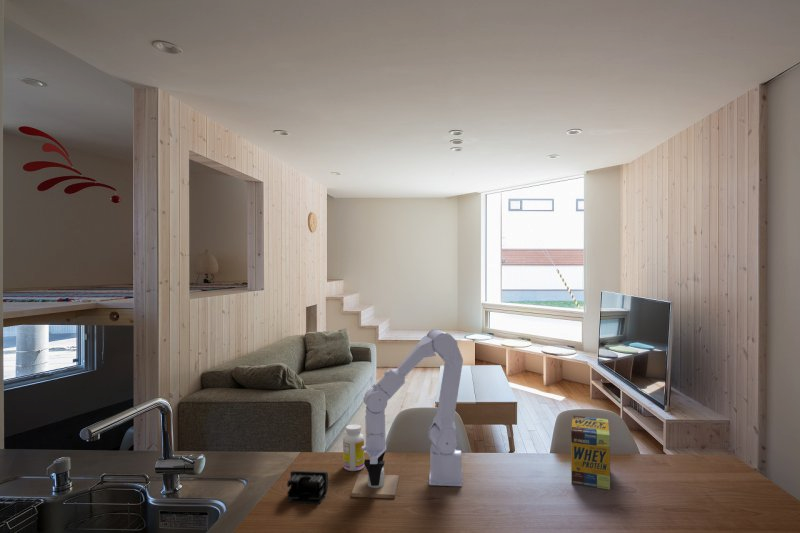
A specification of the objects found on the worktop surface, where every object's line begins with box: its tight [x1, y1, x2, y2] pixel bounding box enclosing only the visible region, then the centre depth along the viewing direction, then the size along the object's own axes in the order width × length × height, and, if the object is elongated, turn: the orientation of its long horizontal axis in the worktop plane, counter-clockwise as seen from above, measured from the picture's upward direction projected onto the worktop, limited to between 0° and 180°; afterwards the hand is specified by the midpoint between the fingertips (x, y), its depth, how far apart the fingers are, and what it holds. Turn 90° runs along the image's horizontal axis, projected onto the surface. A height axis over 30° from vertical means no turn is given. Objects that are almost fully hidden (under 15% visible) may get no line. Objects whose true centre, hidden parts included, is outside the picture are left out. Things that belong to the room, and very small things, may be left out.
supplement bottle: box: [342, 423, 366, 472], centre depth 150 cm, size 7×7×13 cm
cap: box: [367, 467, 385, 488], centre depth 137 cm, size 5×5×5 cm
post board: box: [350, 473, 400, 499], centre depth 137 cm, size 12×12×3 cm
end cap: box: [286, 470, 329, 505], centre depth 131 cm, size 10×7×7 cm
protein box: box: [570, 415, 611, 490], centre depth 142 cm, size 10×15×16 cm
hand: (376, 479), depth 137 cm, fingers open, 7 cm apart
